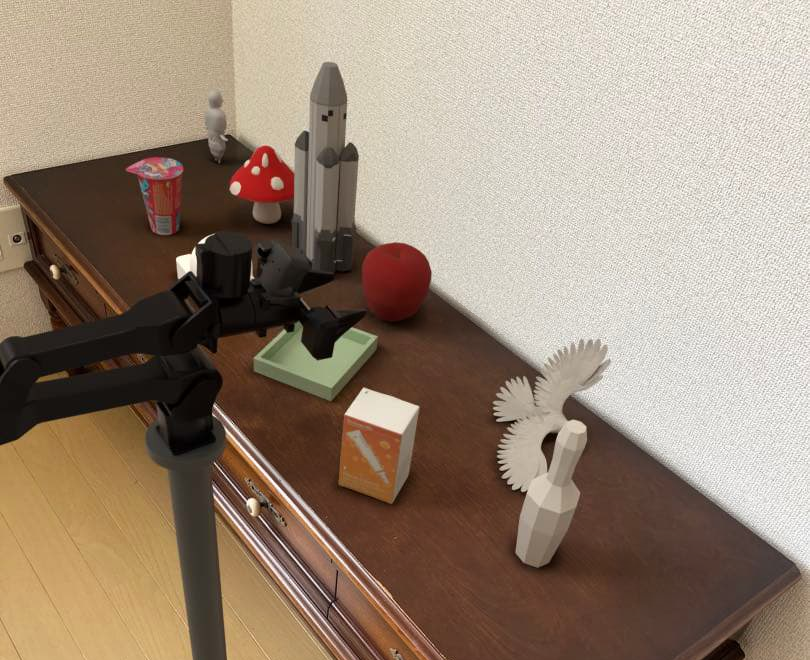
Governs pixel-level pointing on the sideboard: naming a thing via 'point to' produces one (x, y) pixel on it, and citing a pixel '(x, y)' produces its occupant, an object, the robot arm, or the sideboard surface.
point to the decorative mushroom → (264, 183)
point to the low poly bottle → (551, 499)
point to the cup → (160, 192)
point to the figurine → (215, 124)
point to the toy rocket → (326, 179)
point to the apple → (395, 280)
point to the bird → (543, 408)
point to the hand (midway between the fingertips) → (349, 294)
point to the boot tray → (315, 361)
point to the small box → (377, 444)
